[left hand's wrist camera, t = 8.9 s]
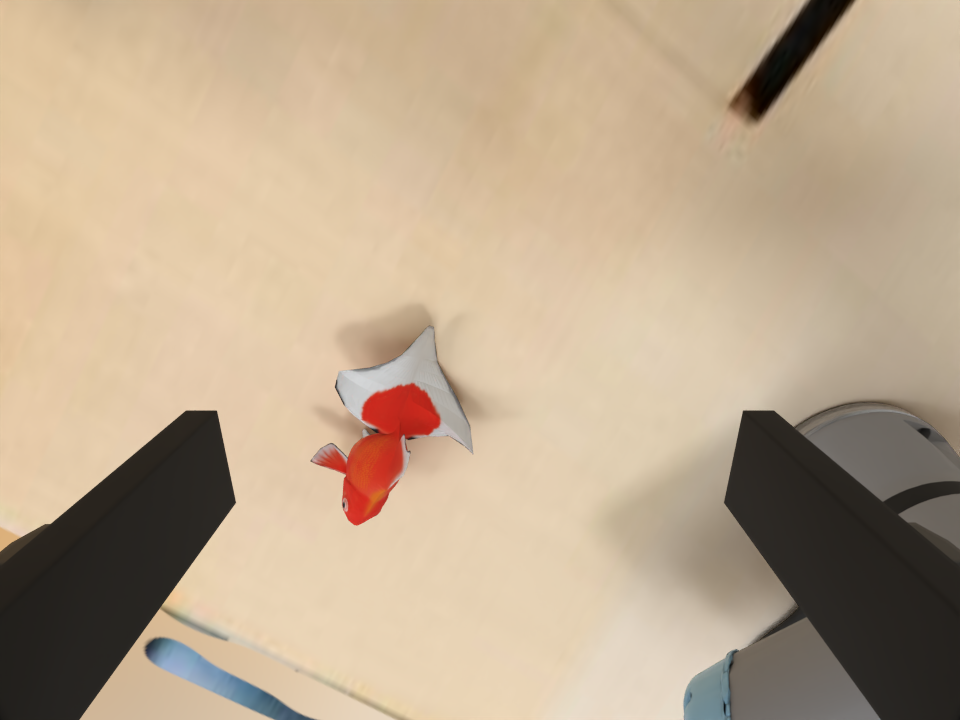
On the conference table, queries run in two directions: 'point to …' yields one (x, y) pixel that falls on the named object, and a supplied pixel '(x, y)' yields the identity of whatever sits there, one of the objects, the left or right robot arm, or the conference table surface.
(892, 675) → the left robot arm
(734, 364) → the conference table surface
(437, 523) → the conference table surface
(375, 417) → the fish
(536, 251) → the conference table surface
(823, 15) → the conference table surface
